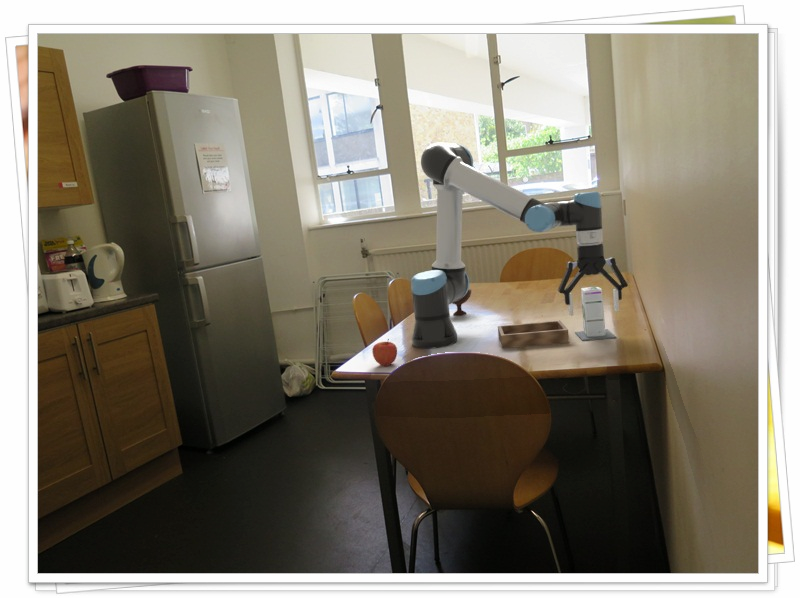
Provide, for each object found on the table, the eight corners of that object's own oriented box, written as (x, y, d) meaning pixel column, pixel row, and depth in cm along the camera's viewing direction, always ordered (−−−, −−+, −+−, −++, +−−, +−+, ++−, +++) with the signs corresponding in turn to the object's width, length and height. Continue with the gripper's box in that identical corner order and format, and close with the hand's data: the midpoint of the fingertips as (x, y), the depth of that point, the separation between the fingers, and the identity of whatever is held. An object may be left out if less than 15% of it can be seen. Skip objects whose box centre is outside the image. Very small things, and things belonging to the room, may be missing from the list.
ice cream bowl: (465, 310, 237) (462, 274, 235) (477, 314, 227) (474, 277, 224) (442, 314, 234) (438, 278, 232) (453, 318, 224) (449, 281, 221)
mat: (582, 340, 172) (582, 339, 172) (575, 333, 182) (575, 331, 181) (616, 338, 171) (616, 336, 171) (607, 330, 181) (607, 329, 180)
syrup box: (606, 335, 173) (603, 288, 170) (585, 337, 174) (583, 290, 171) (602, 331, 178) (600, 285, 176) (582, 332, 179) (580, 287, 177)
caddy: (502, 348, 174) (501, 335, 173) (498, 337, 187) (497, 326, 186) (569, 342, 172) (568, 329, 171) (560, 332, 184) (560, 320, 184)
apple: (376, 362, 174) (372, 337, 173) (399, 360, 173) (396, 335, 172) (372, 369, 167) (369, 343, 166) (397, 367, 166) (394, 341, 165)
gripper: (549, 249, 169) (554, 318, 173) (636, 240, 166) (639, 311, 170) (545, 247, 176) (550, 313, 180) (628, 238, 174) (631, 306, 177)
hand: (593, 312), depth 175 cm, fingers open, 13 cm apart
